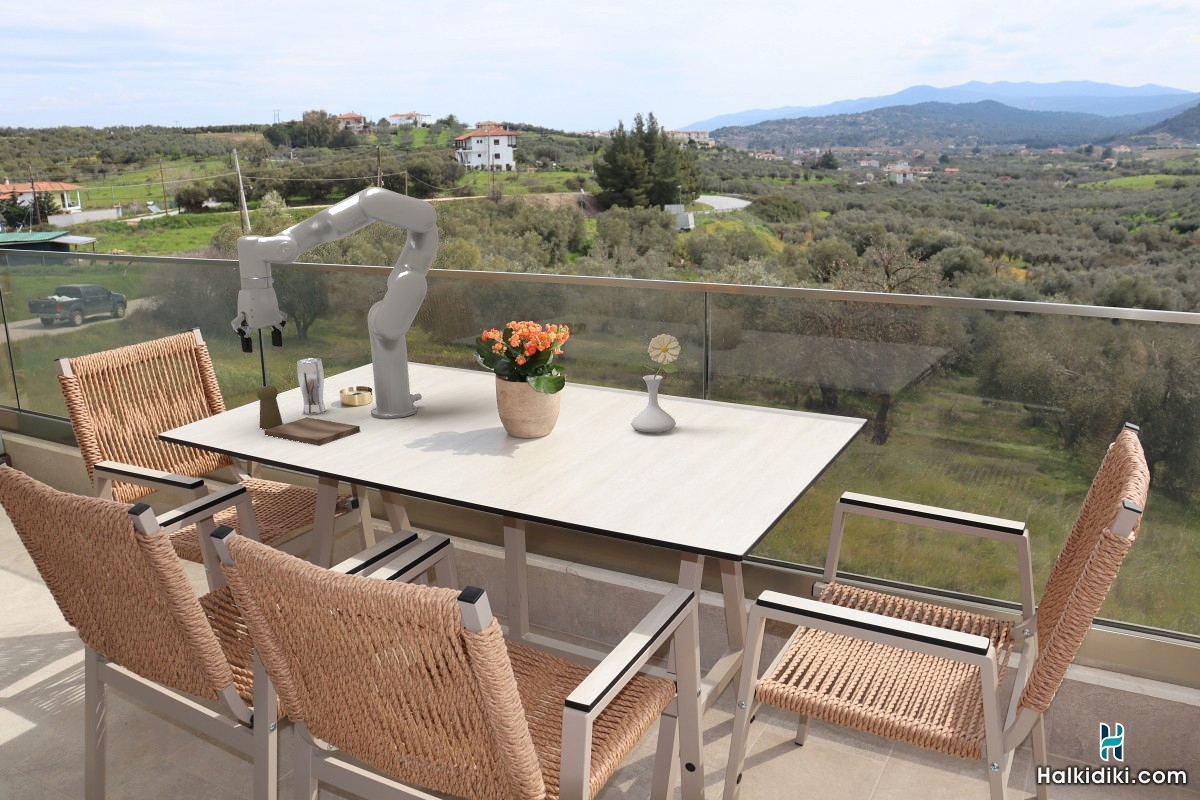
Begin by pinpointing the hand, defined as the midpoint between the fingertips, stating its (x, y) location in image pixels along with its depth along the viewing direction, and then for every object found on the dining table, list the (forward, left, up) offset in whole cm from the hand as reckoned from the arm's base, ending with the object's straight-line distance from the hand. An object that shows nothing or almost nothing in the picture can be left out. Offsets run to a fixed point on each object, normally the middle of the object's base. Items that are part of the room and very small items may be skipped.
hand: (262, 349), depth 240 cm
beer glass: (-16, -2, -22) cm, 27 cm away
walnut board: (0, +15, -21) cm, 26 cm away
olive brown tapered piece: (0, -1, -22) cm, 22 cm away
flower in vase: (-42, +94, -22) cm, 106 cm away
